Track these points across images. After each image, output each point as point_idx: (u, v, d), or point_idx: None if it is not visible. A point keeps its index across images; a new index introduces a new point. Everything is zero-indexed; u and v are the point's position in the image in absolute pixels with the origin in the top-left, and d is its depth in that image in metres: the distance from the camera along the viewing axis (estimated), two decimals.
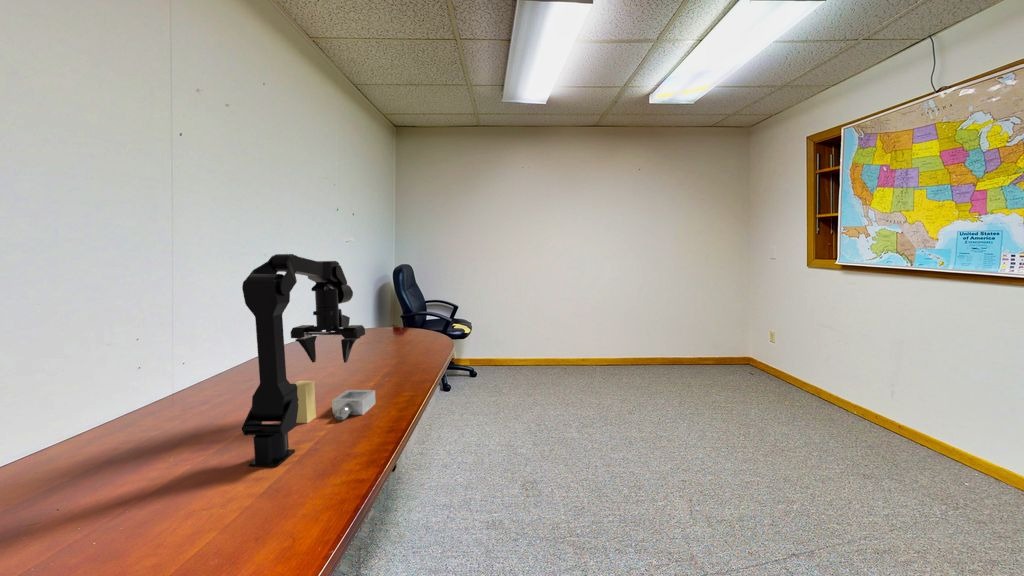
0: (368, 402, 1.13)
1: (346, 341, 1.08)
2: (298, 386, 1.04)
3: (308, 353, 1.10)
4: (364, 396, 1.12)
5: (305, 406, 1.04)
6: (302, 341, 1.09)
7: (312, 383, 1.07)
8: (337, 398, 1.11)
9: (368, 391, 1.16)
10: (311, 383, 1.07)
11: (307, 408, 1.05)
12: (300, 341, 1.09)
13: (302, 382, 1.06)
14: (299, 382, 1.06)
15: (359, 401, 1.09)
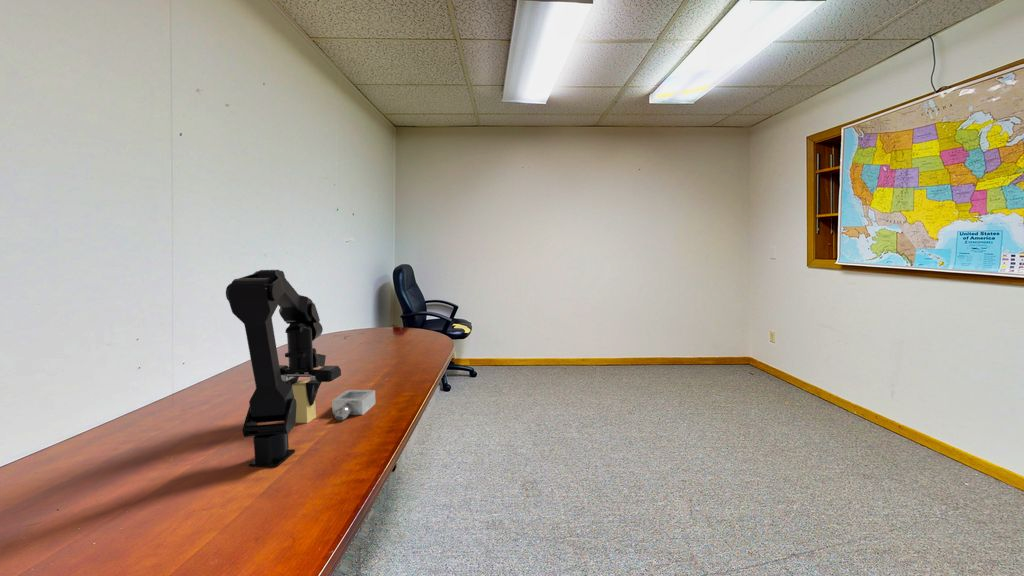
0: (368, 402, 1.13)
1: (311, 384, 1.03)
2: (298, 386, 1.04)
3: None
4: (364, 396, 1.12)
5: (305, 406, 1.04)
6: None
7: None
8: (337, 398, 1.11)
9: (368, 391, 1.16)
10: None
11: (307, 408, 1.05)
12: None
13: (302, 382, 1.06)
14: (299, 382, 1.06)
15: (359, 401, 1.09)
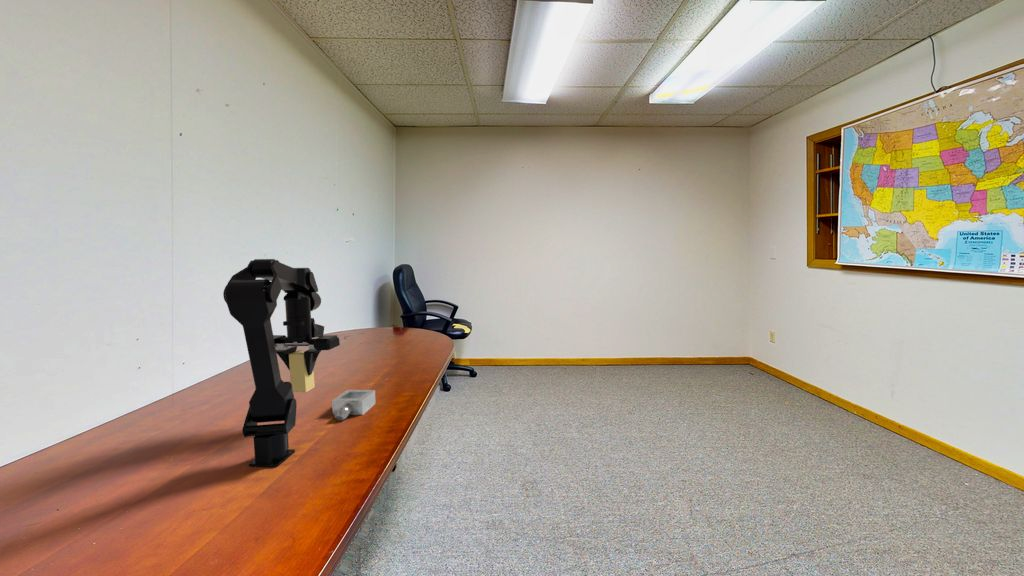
0: (368, 402, 1.13)
1: (309, 353, 1.02)
2: (296, 355, 1.03)
3: (288, 365, 1.04)
4: (364, 396, 1.12)
5: (303, 375, 1.04)
6: (281, 353, 1.03)
7: None
8: (337, 398, 1.11)
9: (368, 391, 1.16)
10: None
11: (306, 377, 1.04)
12: (279, 353, 1.03)
13: (300, 352, 1.06)
14: (297, 352, 1.06)
15: (359, 401, 1.09)
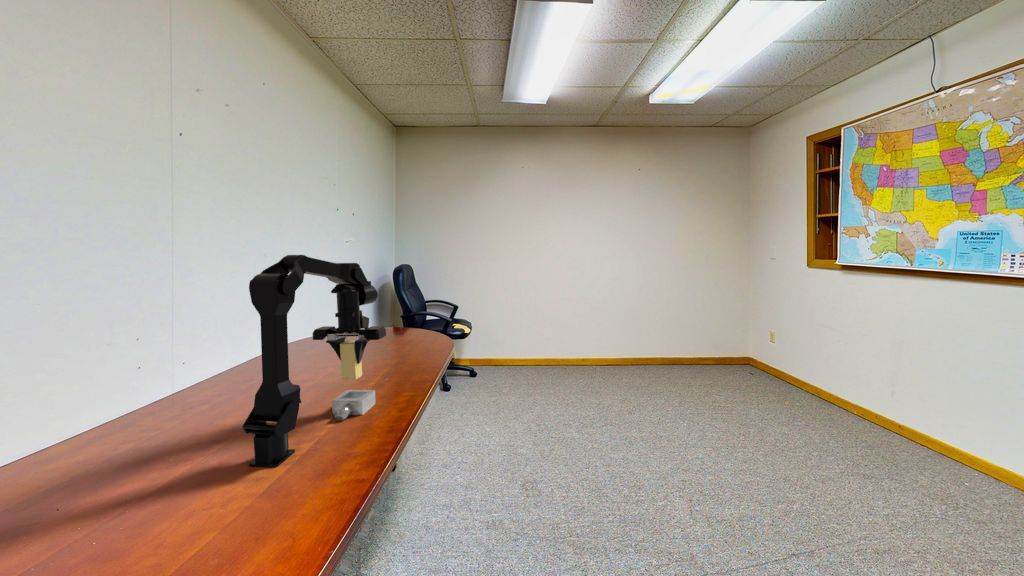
0: (368, 402, 1.13)
1: (360, 342, 1.09)
2: (347, 344, 1.10)
3: (338, 354, 1.11)
4: (364, 396, 1.12)
5: (354, 363, 1.11)
6: (333, 343, 1.10)
7: None
8: (337, 398, 1.11)
9: (368, 391, 1.16)
10: None
11: (356, 365, 1.11)
12: (331, 343, 1.10)
13: (350, 341, 1.13)
14: (347, 341, 1.13)
15: (359, 401, 1.09)
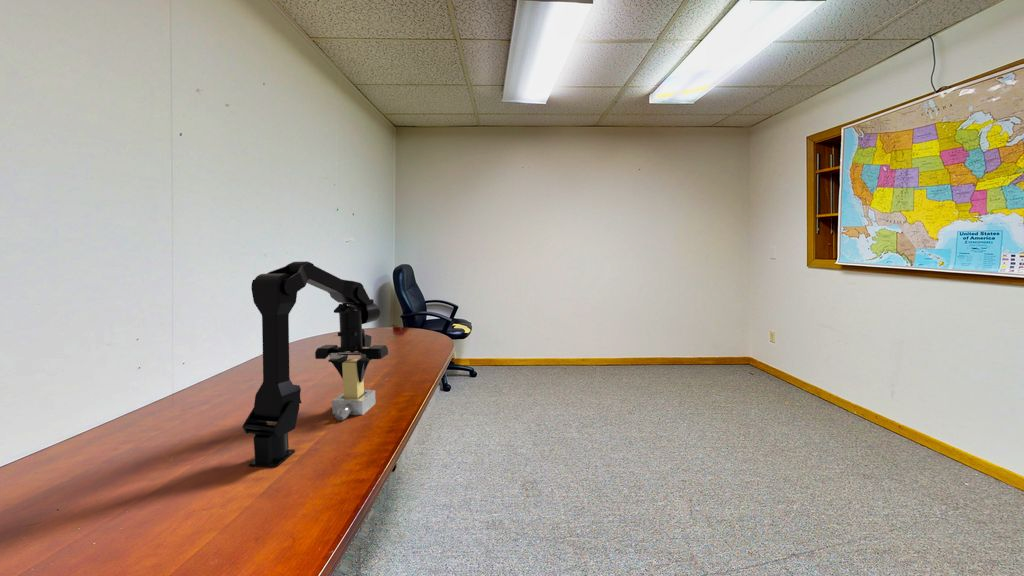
0: (368, 402, 1.13)
1: (362, 362, 1.10)
2: (349, 363, 1.11)
3: (341, 373, 1.12)
4: (364, 396, 1.12)
5: (356, 382, 1.11)
6: (335, 362, 1.10)
7: None
8: (337, 398, 1.11)
9: (368, 391, 1.16)
10: None
11: (358, 384, 1.12)
12: (333, 362, 1.10)
13: (352, 360, 1.13)
14: (349, 360, 1.13)
15: (359, 401, 1.09)
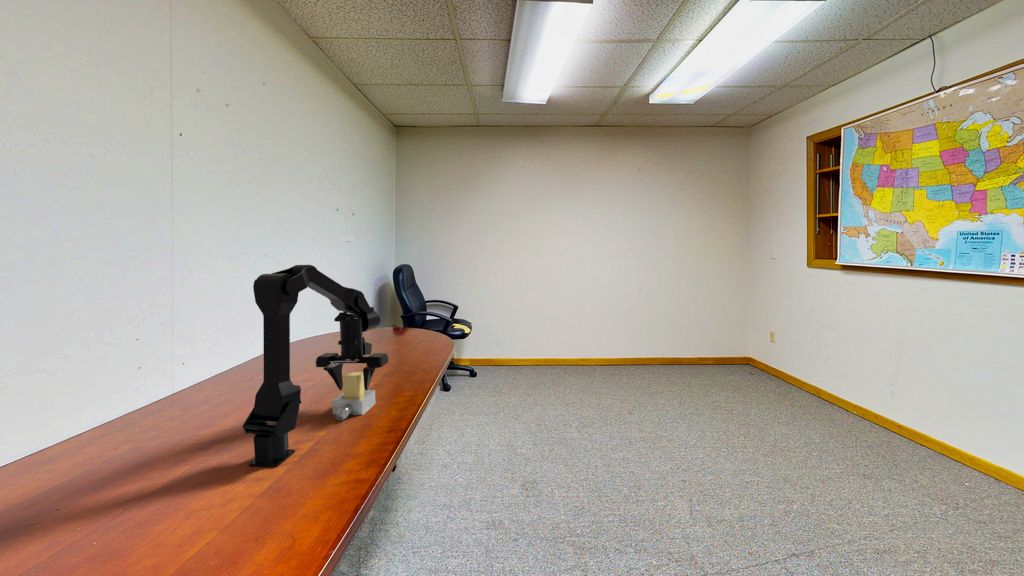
0: (368, 402, 1.13)
1: (368, 370, 1.10)
2: (350, 377, 1.11)
3: (336, 381, 1.12)
4: (364, 396, 1.12)
5: (356, 396, 1.11)
6: (330, 370, 1.10)
7: (362, 374, 1.14)
8: (337, 398, 1.11)
9: (368, 391, 1.16)
10: (361, 374, 1.14)
11: (358, 397, 1.12)
12: (328, 370, 1.10)
13: (353, 373, 1.14)
14: (350, 373, 1.14)
15: (359, 401, 1.09)
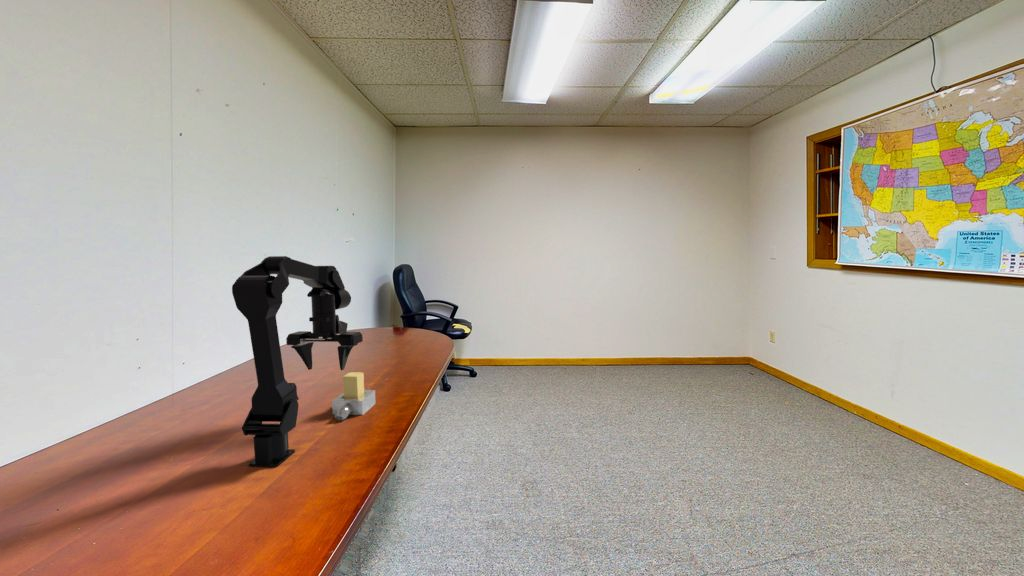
0: (368, 402, 1.13)
1: (343, 348, 1.05)
2: (350, 377, 1.11)
3: (304, 360, 1.08)
4: (364, 396, 1.12)
5: (356, 396, 1.11)
6: (298, 348, 1.06)
7: (362, 374, 1.14)
8: (337, 398, 1.11)
9: (368, 391, 1.16)
10: (361, 374, 1.14)
11: (358, 397, 1.12)
12: (296, 348, 1.06)
13: (353, 373, 1.14)
14: (350, 373, 1.14)
15: (359, 401, 1.09)
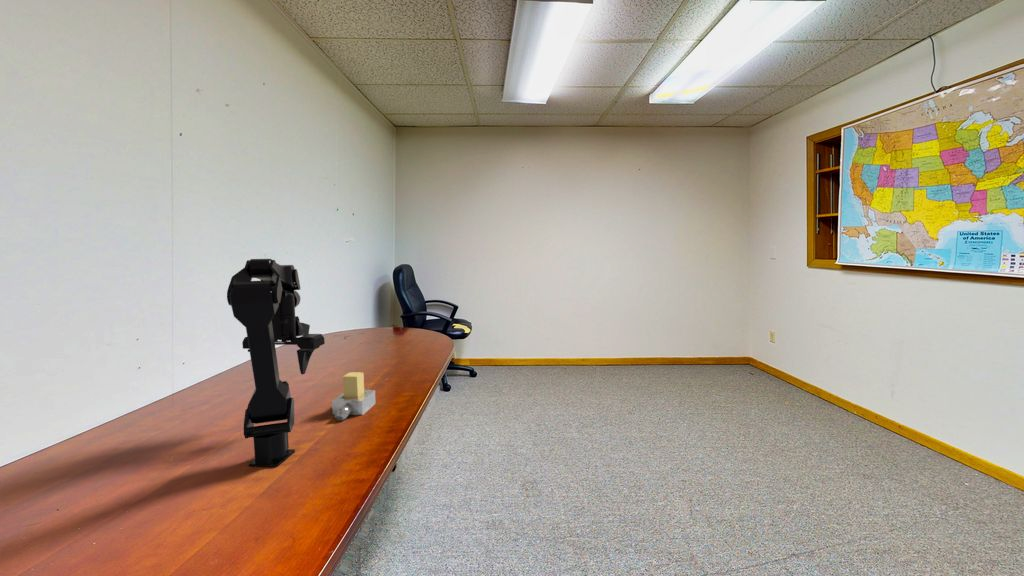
0: (368, 402, 1.13)
1: (302, 352, 1.00)
2: (350, 377, 1.11)
3: None
4: (364, 396, 1.12)
5: (356, 396, 1.11)
6: None
7: (362, 374, 1.14)
8: (337, 398, 1.11)
9: (368, 391, 1.16)
10: (361, 374, 1.14)
11: (358, 397, 1.12)
12: None
13: (353, 373, 1.14)
14: (350, 373, 1.14)
15: (359, 401, 1.09)
